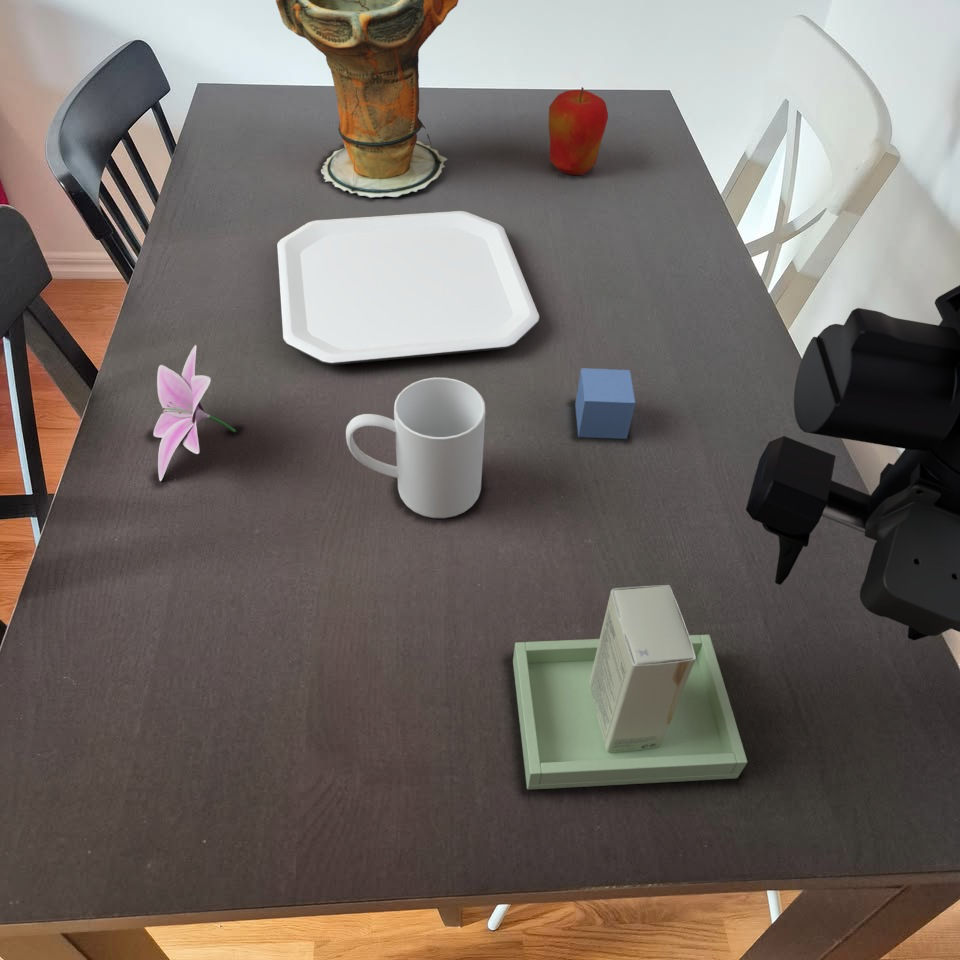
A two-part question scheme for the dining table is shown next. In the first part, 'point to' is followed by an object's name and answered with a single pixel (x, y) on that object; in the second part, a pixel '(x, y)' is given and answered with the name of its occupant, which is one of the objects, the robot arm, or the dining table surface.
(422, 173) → the decorative vase
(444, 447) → the mug
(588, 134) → the apple
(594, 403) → the blue block
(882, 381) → the robot arm
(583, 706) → the sage tray
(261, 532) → the dining table surface
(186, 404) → the lily
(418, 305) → the plate
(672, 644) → the cosmetic box
